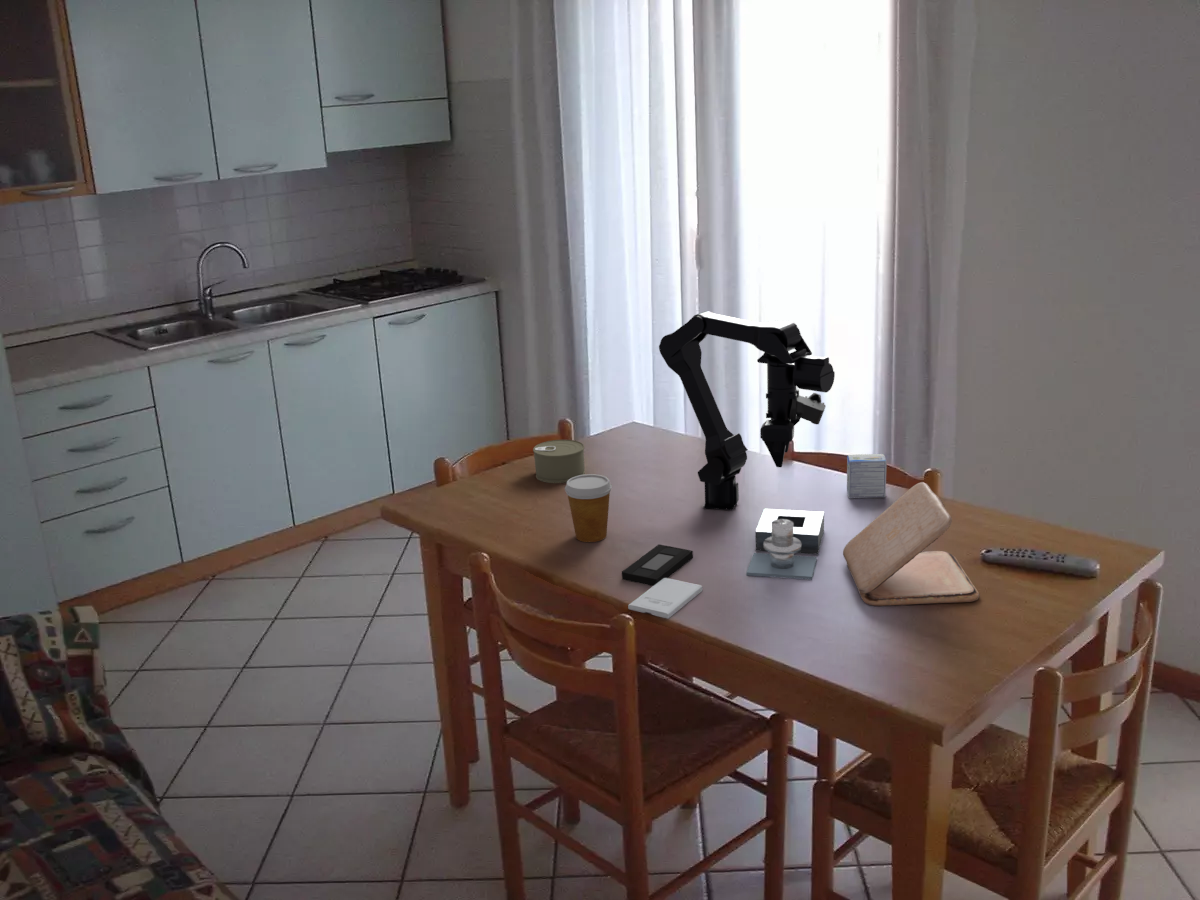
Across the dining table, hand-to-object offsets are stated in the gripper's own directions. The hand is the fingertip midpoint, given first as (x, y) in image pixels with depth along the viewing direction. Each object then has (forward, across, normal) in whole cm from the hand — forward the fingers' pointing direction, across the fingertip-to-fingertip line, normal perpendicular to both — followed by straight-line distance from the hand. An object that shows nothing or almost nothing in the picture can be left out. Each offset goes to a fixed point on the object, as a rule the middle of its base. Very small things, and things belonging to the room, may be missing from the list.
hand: (782, 459), depth 233 cm
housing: (+13, -11, -3) cm, 17 cm away
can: (+13, +20, +55) cm, 60 cm away
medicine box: (+13, +16, -16) cm, 26 cm away
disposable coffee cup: (+13, -15, +37) cm, 42 cm away
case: (+14, -26, -26) cm, 39 cm away
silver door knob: (+12, -24, -3) cm, 27 cm away
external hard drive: (+14, -41, +16) cm, 46 cm away
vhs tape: (+14, -28, +20) cm, 37 cm away
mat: (+13, -24, -3) cm, 27 cm away
